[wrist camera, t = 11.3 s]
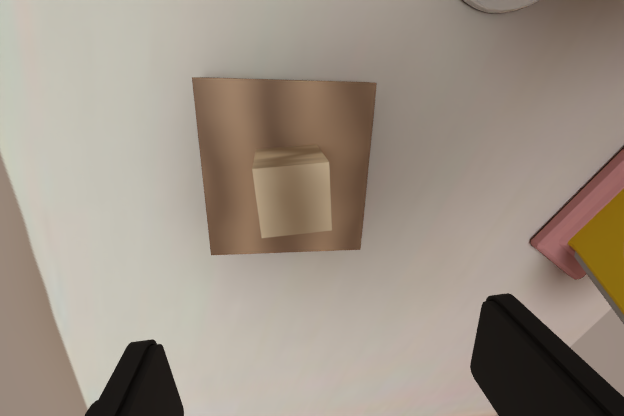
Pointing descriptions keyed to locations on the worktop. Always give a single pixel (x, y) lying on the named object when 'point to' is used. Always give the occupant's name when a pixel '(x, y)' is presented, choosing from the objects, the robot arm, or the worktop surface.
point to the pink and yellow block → (592, 234)
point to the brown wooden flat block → (275, 134)
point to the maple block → (292, 190)
